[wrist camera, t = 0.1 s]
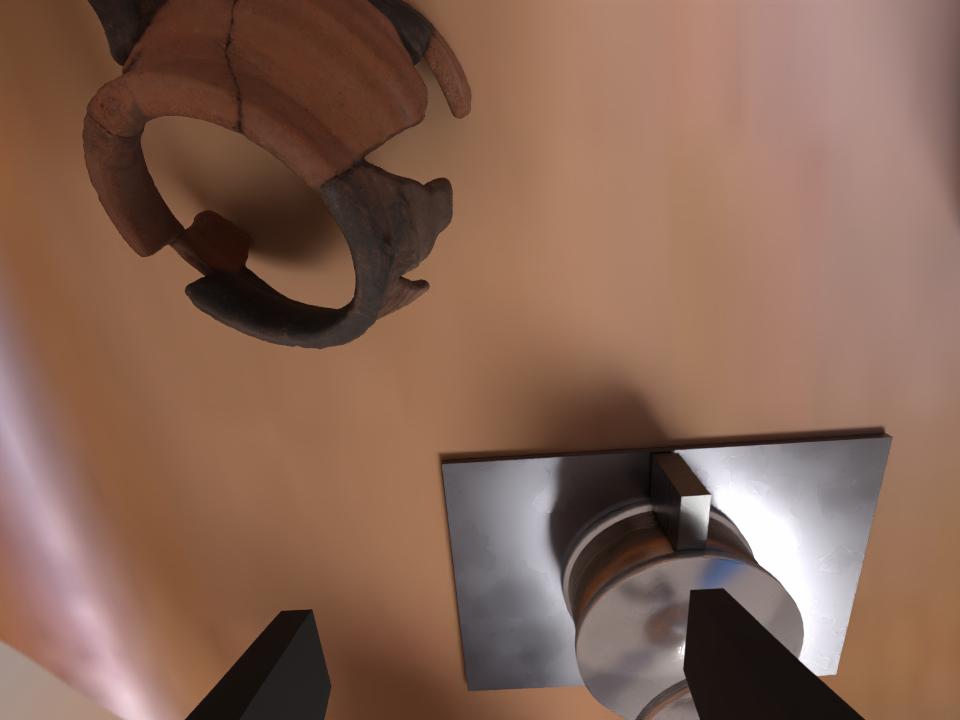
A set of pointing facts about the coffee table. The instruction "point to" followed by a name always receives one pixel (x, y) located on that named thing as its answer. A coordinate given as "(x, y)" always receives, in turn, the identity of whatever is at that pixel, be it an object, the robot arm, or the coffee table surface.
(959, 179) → the coffee table surface
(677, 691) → the silver lid with knob
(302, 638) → the robot arm
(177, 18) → the brown animal figurine
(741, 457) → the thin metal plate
